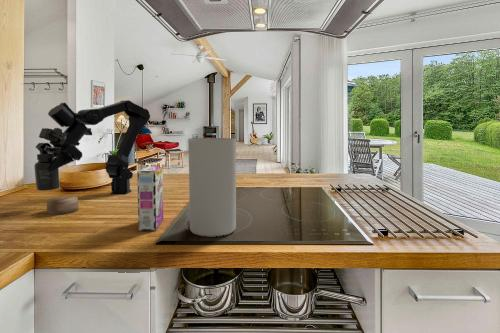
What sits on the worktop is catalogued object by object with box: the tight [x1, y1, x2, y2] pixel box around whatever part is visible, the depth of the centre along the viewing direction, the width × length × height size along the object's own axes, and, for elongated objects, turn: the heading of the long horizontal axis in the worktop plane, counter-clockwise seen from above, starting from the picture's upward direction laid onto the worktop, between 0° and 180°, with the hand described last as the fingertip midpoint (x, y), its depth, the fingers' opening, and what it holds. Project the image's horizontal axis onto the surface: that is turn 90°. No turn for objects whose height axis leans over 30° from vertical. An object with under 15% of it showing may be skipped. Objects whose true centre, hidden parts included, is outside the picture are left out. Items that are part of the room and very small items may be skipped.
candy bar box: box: [136, 166, 164, 232], centre depth 89 cm, size 11×5×16 cm, turn 5°
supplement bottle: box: [34, 153, 61, 191], centre depth 107 cm, size 7×7×12 cm
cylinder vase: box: [187, 137, 237, 238], centre depth 85 cm, size 12×12×25 cm
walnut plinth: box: [45, 195, 80, 216], centre depth 104 cm, size 9×9×4 cm
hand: (42, 170), depth 105 cm, fingers closed on supplement bottle, 7 cm apart
